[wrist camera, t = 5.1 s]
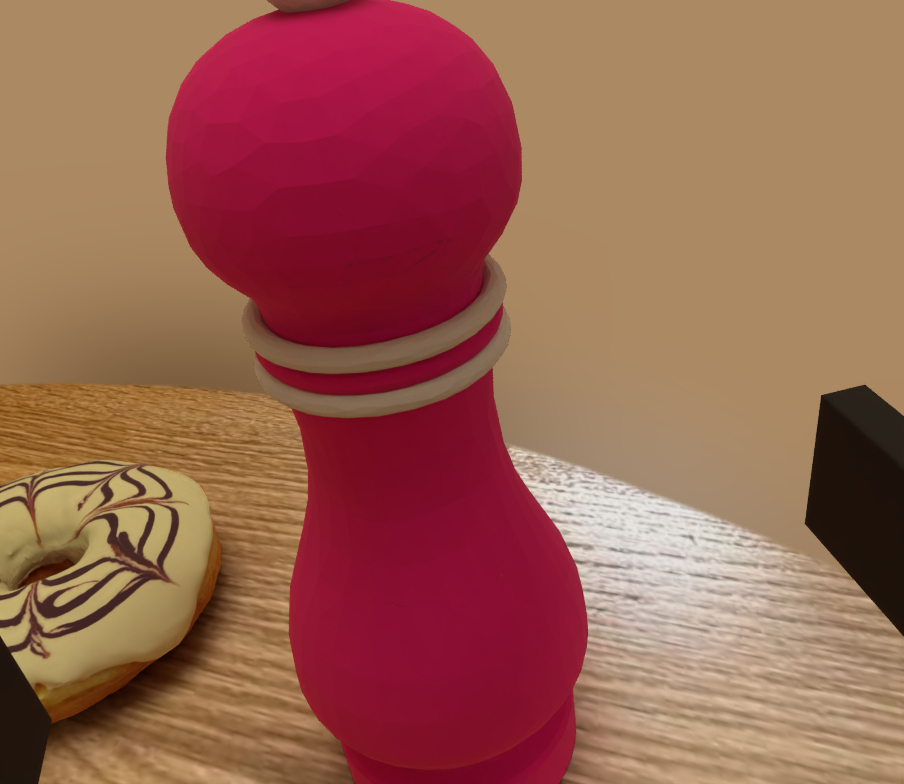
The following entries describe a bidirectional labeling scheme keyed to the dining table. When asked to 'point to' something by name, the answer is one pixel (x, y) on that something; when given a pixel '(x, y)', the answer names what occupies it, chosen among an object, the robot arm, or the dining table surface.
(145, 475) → the decorated donut
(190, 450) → the dining table surface
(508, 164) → the pepper mill
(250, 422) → the dining table surface
